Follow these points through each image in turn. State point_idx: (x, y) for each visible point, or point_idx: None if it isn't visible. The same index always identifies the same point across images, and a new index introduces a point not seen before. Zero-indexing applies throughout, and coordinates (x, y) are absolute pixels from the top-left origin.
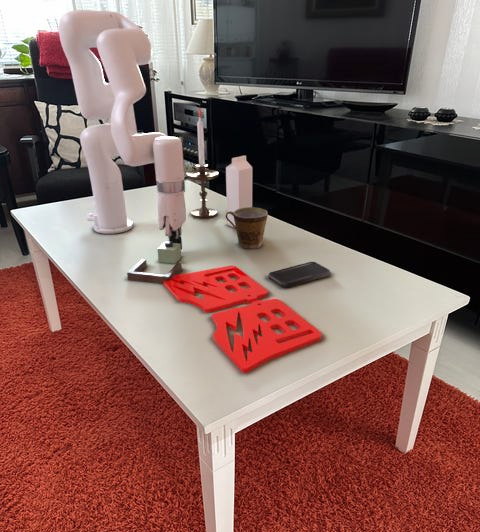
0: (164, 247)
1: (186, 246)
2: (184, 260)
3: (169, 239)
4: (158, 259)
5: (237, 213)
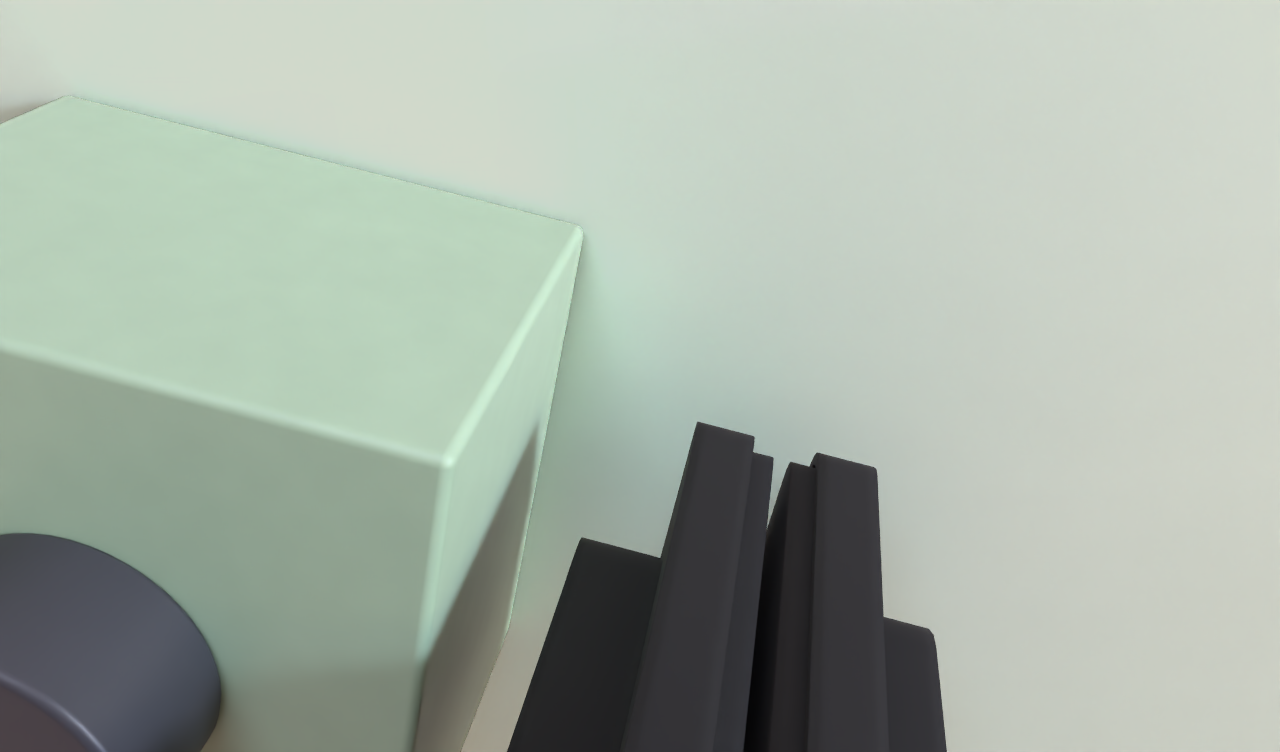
0: None
1: (1255, 727)
2: None
3: (638, 698)
4: (12, 120)
5: None
